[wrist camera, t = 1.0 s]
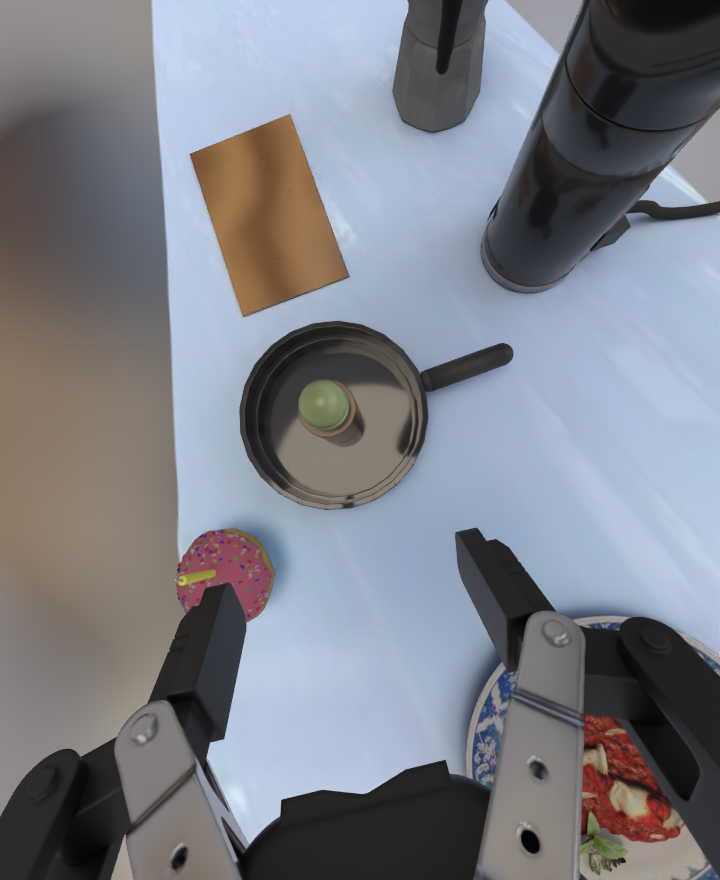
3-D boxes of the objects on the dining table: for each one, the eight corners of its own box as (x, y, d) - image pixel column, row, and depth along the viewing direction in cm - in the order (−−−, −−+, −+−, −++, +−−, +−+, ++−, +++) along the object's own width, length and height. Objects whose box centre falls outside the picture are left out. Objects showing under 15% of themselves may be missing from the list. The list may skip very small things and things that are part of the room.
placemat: (290, 116, 40) (289, 113, 39) (349, 277, 38) (348, 275, 37) (190, 156, 40) (189, 154, 40) (243, 316, 38) (242, 315, 38)
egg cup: (352, 388, 36) (339, 357, 26) (368, 433, 35) (360, 419, 25) (307, 404, 36) (277, 380, 26) (322, 449, 35) (297, 442, 26)
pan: (389, 315, 37) (389, 294, 32) (447, 471, 35) (455, 471, 31) (237, 372, 38) (216, 358, 33) (286, 527, 36) (272, 535, 31)
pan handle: (504, 344, 33) (511, 336, 31) (512, 364, 33) (520, 357, 31) (413, 377, 34) (414, 371, 32) (420, 397, 33) (422, 392, 32)
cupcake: (203, 524, 37) (114, 551, 25) (284, 518, 36) (233, 543, 24) (206, 611, 36) (116, 682, 24) (289, 606, 35) (240, 676, 23)
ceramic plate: (552, 552, 34) (568, 560, 31) (817, 718, 31) (862, 744, 28) (408, 788, 33) (410, 820, 30) (667, 981, 30) (697, 1036, 27)
